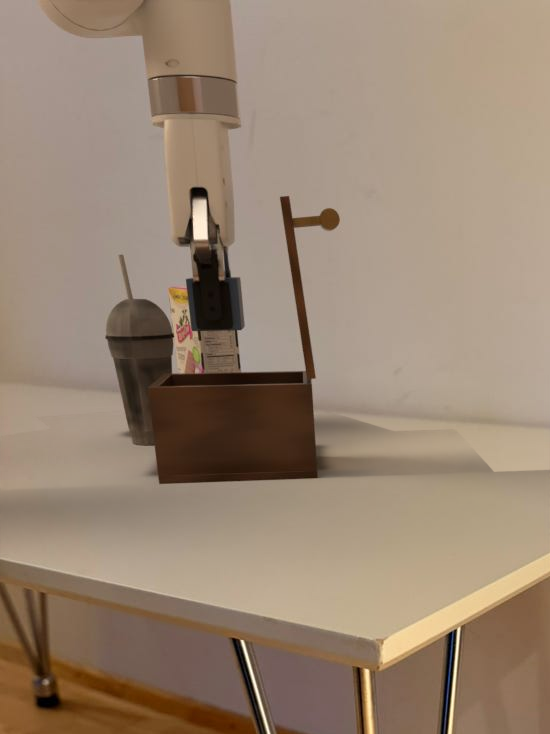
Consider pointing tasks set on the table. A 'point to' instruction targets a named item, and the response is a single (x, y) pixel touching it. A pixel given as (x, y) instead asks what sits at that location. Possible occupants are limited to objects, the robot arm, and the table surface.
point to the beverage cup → (138, 356)
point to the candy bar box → (200, 341)
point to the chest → (233, 426)
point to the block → (235, 304)
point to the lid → (327, 222)
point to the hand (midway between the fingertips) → (217, 325)
